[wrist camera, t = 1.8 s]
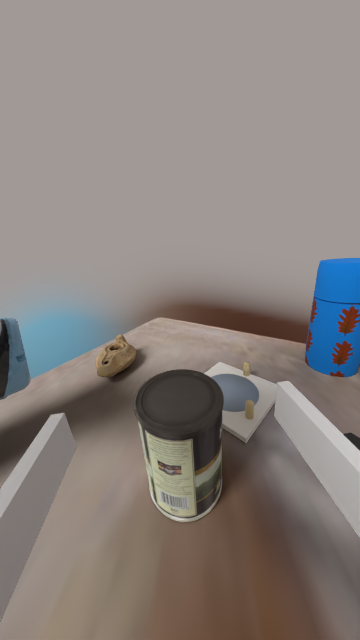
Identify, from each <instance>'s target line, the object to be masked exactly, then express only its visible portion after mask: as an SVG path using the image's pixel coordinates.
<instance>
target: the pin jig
mask: <svg viewBox="0 0 360 640" xmlns="http://www.w3.org/2000/svg"><path fill="white" fill-rule="evenodd" d="M204 374H206V375H208V376H209V377H211V378H212V379H214V380H215V381H216V382H217V384H218V385H219V386H220V388H221V390H222V392H223V396H224V405H223V410H222V428H224V429H225V430H227V431H228V432H230V433H231V434H233V435H234V436H236V437H237V438H239V439H240V440H242V441H243V442H245V443H247V442H248V440H249V439H250V437H251V436H252V435H253V433H254V432H255V430H256V429H257V427H258V426H259V425H260V423H261V422H262V420H263V419H264V418H265V416H266V415H267V413H268V412H269V410H270V409H271V408H272V406H273V405H274V403H275V400H276V388H277V384H275V383H272V382H270V381H267V380H265V379H262V378H260V377H257V376H255V375H252V374H250V363H249V362H244V367H243V371H242V370H239V369H237V368H234V367H232V366H229V365H227V364H224V363H222V362H219V363H217V364H216V365H215V366H213V367H212V368H211V369H209V370H208V371H207V372H205V373H204Z"/></svg>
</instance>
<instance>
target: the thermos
mask: <svg viewBox="0 0 360 640" xmlns="http://www.w3.org/2000/svg"><path fill="white" fill-rule="evenodd" d="M305 361H306V363H307V364H308V366H310V367H311V368H313V369H314V370H316V371H319V372H321V373H324V374H327V375H331V376H338V377H348V376H352V375H355V374H356V373H357V370H358V367H359V365H360V258H344V259H330V260H322V261H320V264H319V268H318V272H317V278H316V285H315V291H314V298H313V305H312V311H311V318H310V324H309V331H308V337H307V344H306V355H305Z"/></svg>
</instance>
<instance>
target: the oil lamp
mask: <svg viewBox="0 0 360 640" xmlns="http://www.w3.org/2000/svg"><path fill="white" fill-rule="evenodd" d="M135 357H136V349H135V348H134V347H133V346H131V345H129V344H128V343H127V342H126V340H125V338H124V337H123V335H118V336H117V337H116V342H115V343H112V344H110V345H108V346H106V347H105V348H104V349H103V351H102V352H101V353H100V354H99V355H98V356H97V359H96V368H97V374H98V375H99V376H101V377H113V376H114V375H116V374H117V373H119V372H121V371H123V370H125V369H126V368H127V367H128V366H129V365H130V364H131V363H132V362H133V361H134V360H135Z"/></svg>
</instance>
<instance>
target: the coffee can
mask: <svg viewBox="0 0 360 640" xmlns="http://www.w3.org/2000/svg"><path fill="white" fill-rule="evenodd" d="M223 405H224V396H223V392H222V390H221V388H220V386H219V385H218V384H217V382H216V381H215V380H214V379H212V378H211V377H209V376H208V375H206V374H203V373H201V372H197V371H193V370H171V371H167V372H163V373H160V374H158V375H156V376H154V377H152V378H150V379H149V380H148V381H146V382H145V383H144V384H143V385H142V386H141V387H140V389H139V390H138V392H137V394H136V396H135V399H134V411H135V415H136V417H137V420H138V425H139V430H140V436H141V441H142V447H143V452H144V458H145V463H146V469H147V474H148V480H149V489H150V494H151V497H152V500H153V502H154V503H155V505H156V507H157V508H158V509H159V510H160V511H161V512H162V513H163V515H165V516H167V517H169V518H170V519H173V520H175V521H179V522H191V521H196V520H198V519H200V518H202V517H204V516H205V515H206V514H208V513H209V512H210V511H211V510H212V508H213V507H214V506H215V504H216V503H217V501H218V499H219V497H220V493H221V489H222V410H223Z"/></svg>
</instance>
